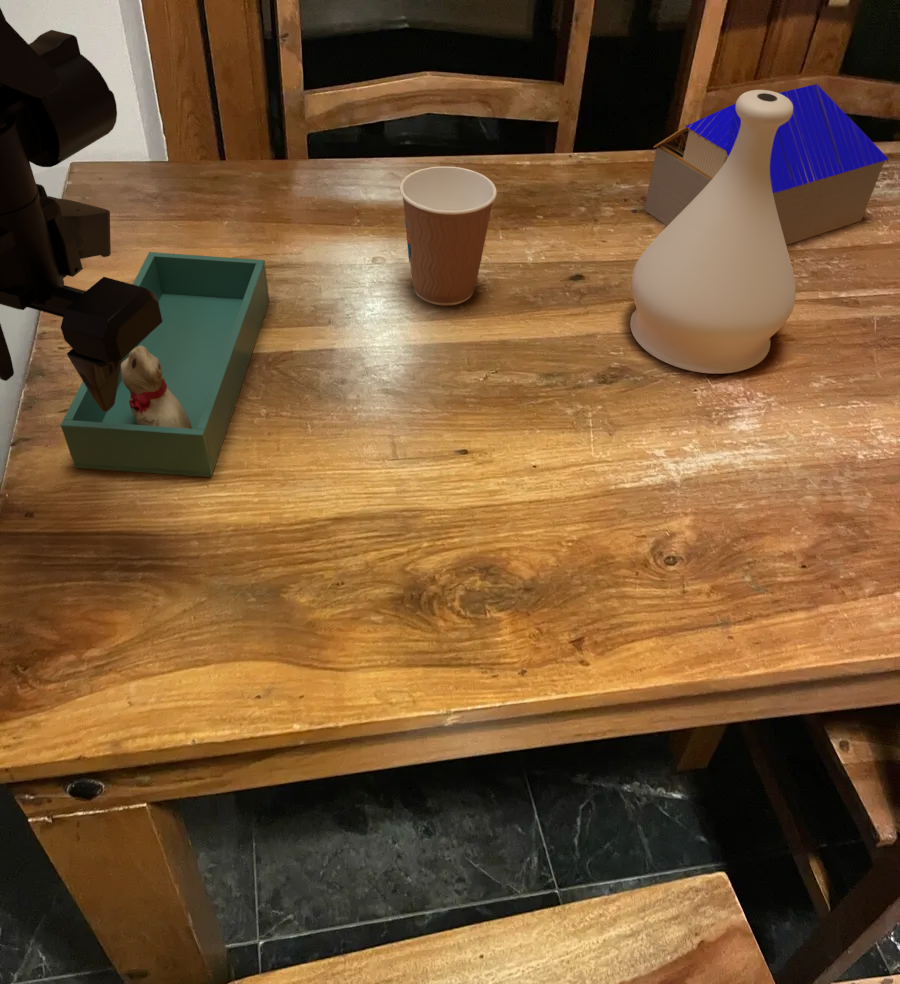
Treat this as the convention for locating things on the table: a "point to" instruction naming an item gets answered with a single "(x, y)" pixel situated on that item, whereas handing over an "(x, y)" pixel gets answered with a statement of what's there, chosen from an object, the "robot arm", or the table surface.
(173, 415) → the chocolate bunny
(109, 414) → the bin
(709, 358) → the vase
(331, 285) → the table surface
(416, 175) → the coffee cup
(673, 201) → the house
